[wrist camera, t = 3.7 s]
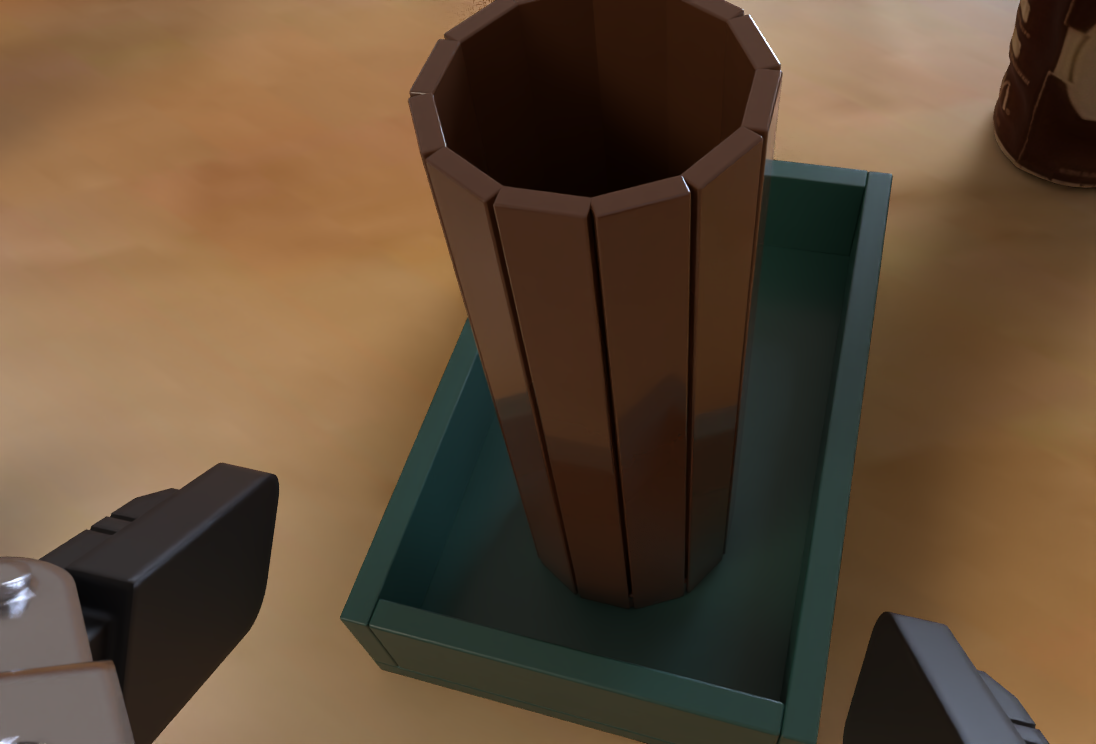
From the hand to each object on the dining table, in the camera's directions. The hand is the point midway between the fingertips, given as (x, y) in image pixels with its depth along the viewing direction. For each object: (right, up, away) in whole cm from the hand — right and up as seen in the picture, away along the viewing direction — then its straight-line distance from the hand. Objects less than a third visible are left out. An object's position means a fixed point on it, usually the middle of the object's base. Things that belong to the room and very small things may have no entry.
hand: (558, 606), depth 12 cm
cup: (+2, -1, +16) cm, 17 cm away
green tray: (+3, +1, +19) cm, 19 cm away
